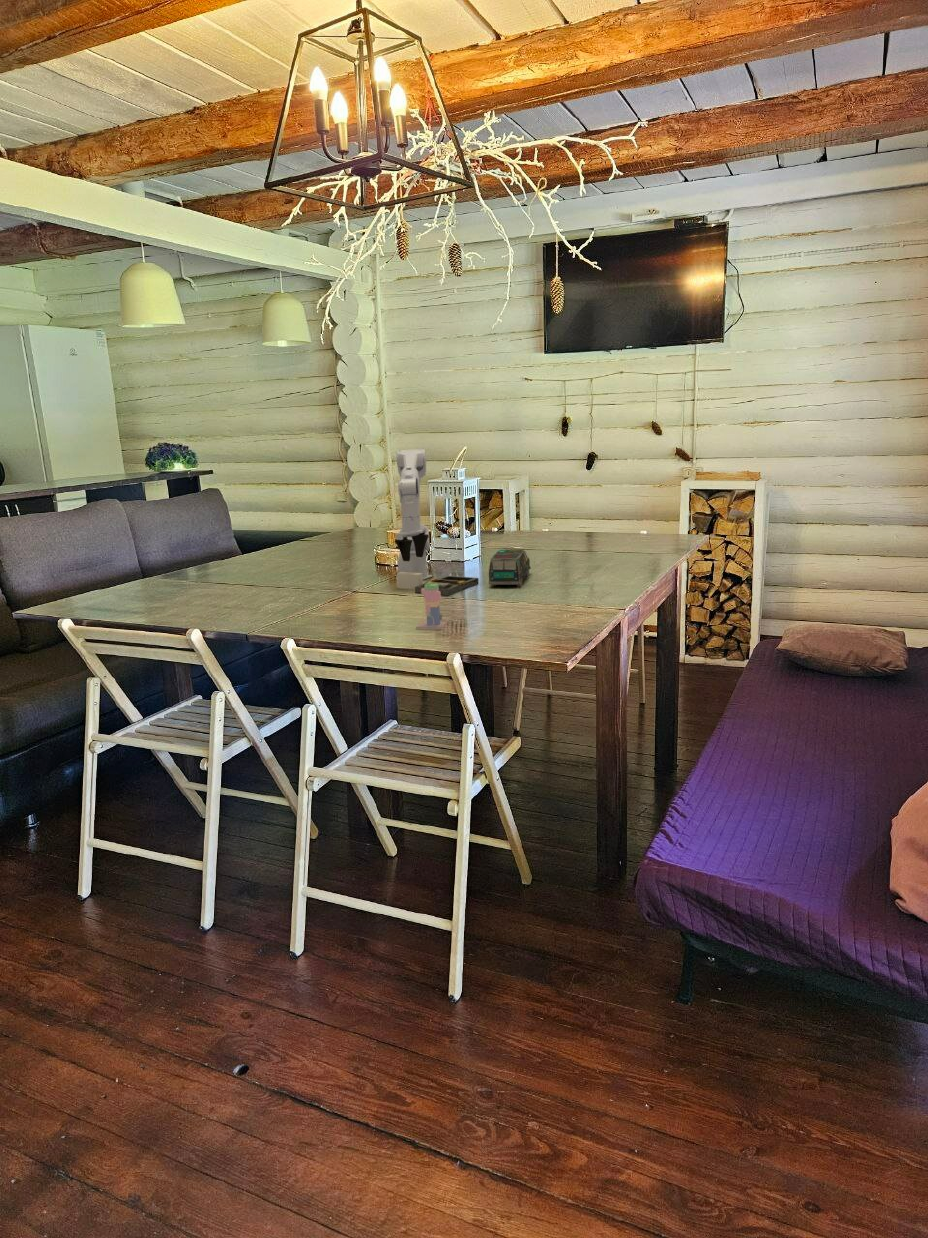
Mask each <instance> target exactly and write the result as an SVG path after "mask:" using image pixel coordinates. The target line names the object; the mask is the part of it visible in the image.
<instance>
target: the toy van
mask: <svg viewBox="0 0 928 1238" xmlns="http://www.w3.org/2000/svg"><path fill="white" fill-rule="evenodd" d="M530 561H531V560H530V557H528V555H527V553H526V551H525V549H519V548H514V549H513V548H509V549H507V548H506V549H505V548H504V549H499V550H498V551H496V553H494V554H493V556H492V557H491V558H490V562H489V568H488V584H489V585H491V587H496V586H497V585H499V586H501V585H502V586H503V585H506V586H510V585H511V586H512V585H516V587H521V586H523V580H524V579H525V577H529V576H530V570H531V569H532V568H531V562H530Z"/></svg>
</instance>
